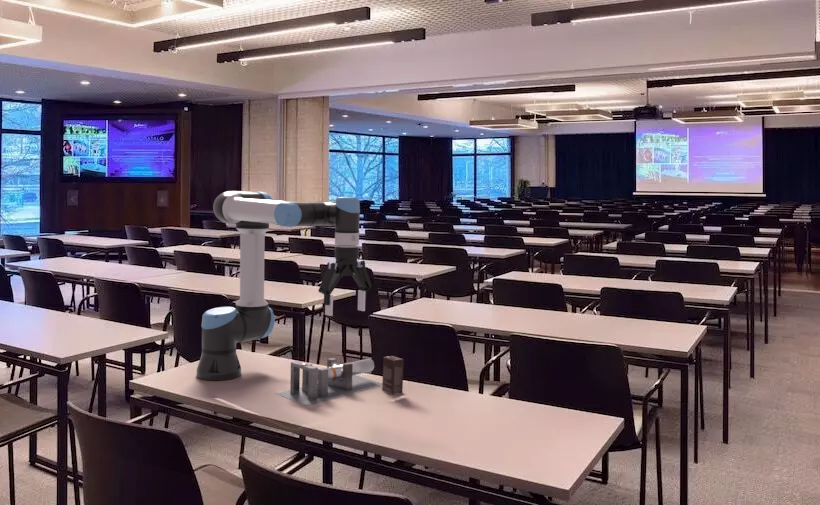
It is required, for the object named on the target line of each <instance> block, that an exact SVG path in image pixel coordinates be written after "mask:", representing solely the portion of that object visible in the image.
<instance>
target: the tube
mask: <svg viewBox="0 0 820 505" xmlns="http://www.w3.org/2000/svg"><path fill="white" fill-rule="evenodd" d="M350 363H352V376H353V375H357V376H358V375H361V374H366V373H368V372H369V373H370V372H372V371H373V370H374V368H375V362H374V361H373V359H372V358H366V359H365V358H364V359H361V360H357V361H352V362H350ZM325 368H326V369H328V382H329V381H334V380H337V379H341V378H343V364H337V366H333V367H325Z"/></svg>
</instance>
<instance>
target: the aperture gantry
mask: <svg viewBox="0 0 820 505" xmlns="http://www.w3.org/2000/svg"><path fill="white" fill-rule="evenodd" d="M303 369H304V370H307V371H309V381H308V400H310V401H313V400H317V395H318V369H319V367H317V366H314V365H312V366H311V365H308V364H307V362H300V361H298V360H294V361H291V362H290V387H289V388H290V393H291V394H297V393H299V388H301V387H300V381H301V380H300V378H301V377H300V376H301V374H300V373H301V372H300V371H301V370H303Z"/></svg>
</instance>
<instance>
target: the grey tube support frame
mask: <svg viewBox="0 0 820 505" xmlns="http://www.w3.org/2000/svg"><path fill="white" fill-rule="evenodd" d="M326 366H327V367H333V366H338V359H337V358H334V357H331V358H327V363H326ZM327 367H326V368H327ZM328 385H329V386H332V387H336V388H339V389H342V390H345V391H349V390H352V363H351V362H345V363H343V378H341V379H337V380H334V381H329V382H328Z"/></svg>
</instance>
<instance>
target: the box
mask: <svg viewBox="0 0 820 505" xmlns="http://www.w3.org/2000/svg"><path fill="white" fill-rule="evenodd" d="M382 365H383V366H382V382H381V383H382V386H381V391H383V392H385V393H388V394H389V395H398V394H399V395H400V394H403V387H404V359H403V358H400V357H397V356H394V355H388V356H383V364H382Z"/></svg>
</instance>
